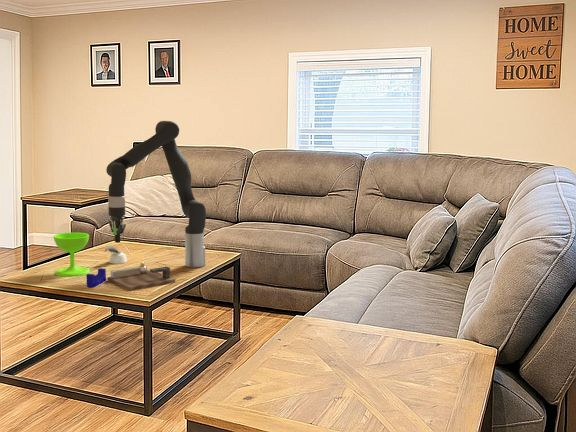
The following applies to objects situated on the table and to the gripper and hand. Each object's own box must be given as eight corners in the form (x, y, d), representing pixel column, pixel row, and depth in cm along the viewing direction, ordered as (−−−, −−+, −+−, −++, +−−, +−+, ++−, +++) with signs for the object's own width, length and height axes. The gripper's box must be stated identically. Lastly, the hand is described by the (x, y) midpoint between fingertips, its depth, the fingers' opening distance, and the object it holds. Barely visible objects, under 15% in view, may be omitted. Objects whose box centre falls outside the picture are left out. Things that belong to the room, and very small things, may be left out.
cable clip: (96, 280, 287) (96, 268, 286) (106, 281, 286) (105, 268, 285) (83, 287, 276) (83, 274, 275) (93, 288, 275) (92, 275, 274)
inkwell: (130, 260, 327) (130, 241, 326) (114, 268, 310) (114, 248, 308) (113, 259, 329) (113, 240, 327) (97, 267, 311) (97, 247, 310)
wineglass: (48, 272, 299) (47, 235, 296) (78, 266, 311) (77, 231, 308) (66, 278, 289) (64, 240, 286) (96, 272, 301) (95, 235, 298)
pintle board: (152, 273, 302) (152, 260, 301) (175, 282, 287) (175, 268, 286) (107, 280, 287) (107, 266, 286) (129, 290, 272) (129, 276, 271)
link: (144, 271, 299) (144, 261, 298) (149, 272, 296) (148, 263, 295) (109, 276, 287) (109, 266, 287) (114, 278, 284) (114, 268, 283)
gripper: (131, 206, 288) (131, 243, 290) (117, 203, 297) (118, 239, 300) (115, 208, 283) (116, 245, 285) (102, 204, 292) (103, 240, 295)
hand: (117, 242), depth 293 cm, fingers closed
